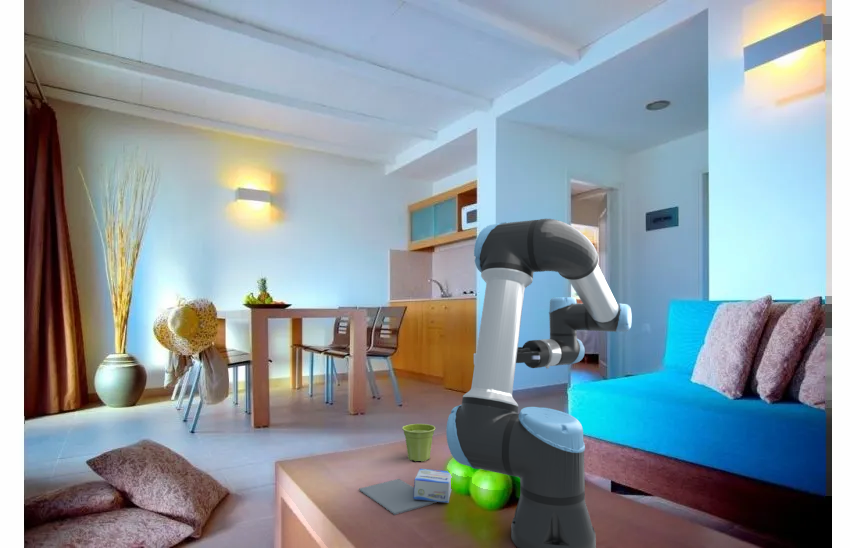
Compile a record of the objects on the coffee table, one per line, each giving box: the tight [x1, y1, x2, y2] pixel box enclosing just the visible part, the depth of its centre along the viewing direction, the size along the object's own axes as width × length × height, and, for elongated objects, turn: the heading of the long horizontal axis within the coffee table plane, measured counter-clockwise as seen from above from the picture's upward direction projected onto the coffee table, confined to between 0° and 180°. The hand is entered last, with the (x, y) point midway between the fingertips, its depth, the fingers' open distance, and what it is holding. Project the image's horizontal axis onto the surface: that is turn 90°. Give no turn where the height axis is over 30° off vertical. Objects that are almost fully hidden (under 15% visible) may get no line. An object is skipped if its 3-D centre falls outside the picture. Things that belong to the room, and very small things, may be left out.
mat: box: [358, 478, 437, 516], centre depth 110 cm, size 16×11×1 cm
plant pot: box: [401, 423, 436, 462], centre depth 137 cm, size 9×9×9 cm
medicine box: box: [413, 468, 453, 504], centre depth 110 cm, size 8×4×9 cm
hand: (475, 359), depth 120 cm, fingers closed
